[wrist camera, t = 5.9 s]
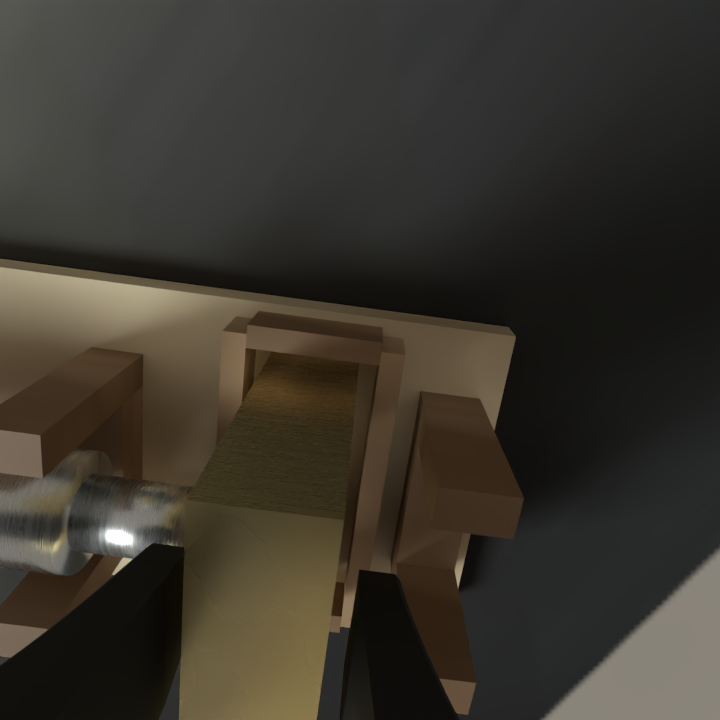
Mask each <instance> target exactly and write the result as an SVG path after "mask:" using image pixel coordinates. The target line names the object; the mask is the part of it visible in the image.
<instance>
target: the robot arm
mask: <svg viewBox="0 0 720 720" xmlns="http://www.w3.org/2000/svg"><path fill="white" fill-rule="evenodd" d="M183 575H184V547H180V546H172V545H164V544H156V543H152V544H151V545H149V546H148V547H147V548H145V549H144V550H143V551H142V552H141V553H139V554H138V555H137V556H136V557H135V558H133V559H132V560H131V561H130V562H129V563H128V564H126V565H125V566H124V567H123V568H122V569H121V570H119V571H118V572H117V573H116V574H115V575H114V576H112V577H111V578H110V579H109V580H108V581H107V582H105V583H104V584H103V585H102V586H101V587H99V588H98V589H97V590H96V591H95V592H94V593H92V594H91V595H90V596H89V597H88V598H86V599H85V600H84V601H83V602H81V603H80V604H79V605H78V606H77V607H75V608H74V609H73V610H72V611H70V612H69V613H68V614H67V615H65V616H64V617H63V618H62V619H60V620H59V621H58V622H57V623H55V624H54V625H53V626H52V627H50V628H49V629H48V630H47V631H45V632H44V633H43V634H42V635H40V636H39V637H38V638H36V639H35V640H34V641H33V642H31V643H30V644H28V645H27V646H26V647H24V648H23V649H22V650H20V651H19V652H18V653H16V654H15V655H14V656H12V657H11V658H10V659H8V660H7V661H6V662H4V663H3V664H1V665H0V720H159V717H160V715H161V713H162V710H163V708H164V706H165V703H166V700H167V697H168V694H169V691H170V688H171V685H172V682H173V679H174V676H175V673H176V670H177V667H178V664H179V660H180V657H181V639H182V607H183ZM340 720H460V719H459V717H458V716H457V714H456V712H455V710H454V708H453V706H452V704H451V702H450V700H449V698H448V696H447V694H446V692H445V690H444V688H443V685H442V683H441V681H440V679H439V677H438V675H437V673H436V671H435V668H434V666H433V664H432V662H431V660H430V658H429V656H428V653H427V651H426V649H425V646H424V644H423V642H422V639H421V637H420V634H419V632H418V630H417V627H416V625H415V622H414V620H413V617H412V614H411V612H410V609H409V606H408V603H407V601H406V598H405V594H404V591H403V588H402V585H401V581H400V580H399V578H398V577H397V576H396V575H395V574H391V573H383V572H375V571H367V570H360V569H359V574H358V580H357V586H356V593H355V599H354V605H353V612H352V618H351V624H350V631H349V637H348V643H347V650H346V656H345V663H344V674H343V685H342V697H341V709H340Z"/></svg>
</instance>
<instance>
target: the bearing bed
mask: <svg viewBox="0 0 720 720" xmlns="http://www.w3.org/2000/svg"><path fill="white" fill-rule="evenodd" d="M515 339H516V336H515V335H514V333H513V332H512V331H511V330H510V329H509V327H504V326H497V325H489V324H482V323H475V322H467V321H460V320H452V319H445V318H437V317H430V316H423V315H415V314H408V313H400V312H393V311H385V310H378V309H371V308H363V307H356V306H348V305H341V304H333V303H326V302H319V301H311V300H304V299H296V298H289V297H281V296H274V295H267V294H259V293H252V292H244V291H237V290H230V289H222V288H215V287H207V286H200V285H192V284H185V283H178V282H170V281H163V280H155V279H148V278H140V277H133V276H126V275H118V274H111V273H103V272H96V271H88V270H81V269H74V268H66V267H59V266H51V265H44V264H36V263H29V262H22V261H14V260H7V259H0V473H5V474H12V475H20V476H28V477H35V478H44V477H45V476H46V475H47V474H48V473H49V472H50V471H51V470H53V469H54V468H55V467H56V466H57V465H58V464H59V463H60V462H61V461H62V460H63V459H64V458H65V457H67V456H68V455H69V454H70V453H71V452H72V451H73V450H74V449H75V448H80V449H87V450H95V451H101V452H104V453H105V454H106V455H107V456H108V457H109V459H110V461H111V464H112V468H113V476H117V477H125V478H133V479H140V480H148V481H156V482H164V483H171V484H179V485H187V486H194V485H195V483H196V482H197V480H198V478H199V477H200V475H201V473H202V471H203V470H204V468H205V466H206V464H207V463H208V461H209V459H210V458H211V456H212V454H213V452H214V451H215V449H216V447H217V445H218V444H219V442H220V440H221V439H222V437H223V435H224V433H225V432H226V430H227V428H228V426H229V425H230V423H231V421H232V420H233V418H234V416H235V414H236V413H237V411H238V409H239V407H240V406H241V404H242V402H243V401H244V399H245V397H246V395H247V394H248V392H249V390H250V389H251V387H252V385H253V383H254V382H255V380H256V378H257V376H258V375H259V373H260V371H261V370H262V368H263V366H264V364H265V363H266V361H267V359H268V357H269V356H270V354H271V352H272V351H273V352H280V353H288V354H295V355H303V356H310V357H318V358H325V359H333V360H340V361H348V362H355V363H359V371H358V382H357V392H356V402H355V413H354V423H353V434H352V444H351V455H350V465H349V476H348V486H347V497H346V507H345V518H344V526H343V533H342V540H341V547H340V554H339V562H338V569H337V576H336V583H335V590H334V598H333V605H332V612H331V619H330V626H329V632H337V633H339V632H340V626H341V627H348V628H350V624H351V618H352V612H353V605H354V599H355V593H356V586H357V580H358V574H359V569H360V570H367V571H375V572H383V573H391V574H395V575H396V576H397V577H398V578H399V580H400V581H401V585H402V588H403V591H404V594H405V598H406V601H407V603H408V606H409V609H410V612H411V614H412V617H413V620H414V622H415V625H416V627H417V630H418V632H419V634H420V637H421V639H422V642H423V644H424V646H425V649H426V651H427V653H428V656H429V658H430V660H431V662H432V664H433V666H434V668H435V671H436V673H437V675H438V677H439V679H440V681H441V683H442V685H443V688H444V690H445V692H446V694H447V696H448V698H449V700H450V702H451V704H452V706H453V708H454V710H455V712H456V713H459V714H466V715H468V712H469V708H470V705H471V701H472V697H473V693H474V689H475V685H476V680H475V675H474V670H473V664H472V659H471V654H470V649H469V643H468V638H467V633H466V628H465V622H464V617H463V612H462V607H461V601H460V596H459V591H458V587H459V582H460V578H461V574H462V569H463V565H464V561H465V556H466V552H467V548H468V543H469V539H470V535H471V534H475V535H483V536H491V537H499V538H506V539H514V536H515V532H516V528H517V524H518V520H519V516H520V513H521V509H522V505H523V501H524V497H523V495H522V492H521V490H520V488H519V486H518V483H517V481H516V479H515V477H514V474H513V472H512V470H511V468H510V465H509V463H508V461H507V459H506V456H505V454H504V452H503V450H502V447H501V445H500V443H499V441H498V438H497V436H496V434H495V432H494V430H495V426H496V422H497V417H498V413H499V409H500V404H501V400H502V396H503V391H504V387H505V383H506V378H507V374H508V370H509V365H510V361H511V356H512V352H513V348H514V343H515ZM131 560H132V559H131V558H123V557H115V556H108V555H100V554H93V555H92V557H91V558H90V560H89V561H88V563H87V564H86V565H85V566H84V567H83V568H82V569H81V570H80V571H79V572H78V573H76V574H74V575H72V576H63V575H55V574H47V573H39V572H31V571H30V572H29V573H28V574H27V575H26V577H25V578H24V579H23V580H22V581H21V582H20V583H19V585H18V586H17V587H16V588H15V589H14V590H13V592H12V593H11V594H10V595H9V596H8V597H7V599H6V600H5V601H4V602H3V603H2V604H1V605H0V656H3V657H12V656H14V655H15V654H16V653H18V652H19V651H20V650H22V649H23V648H24V647H26V646H27V645H28V644H30V643H31V642H33V641H34V640H35V639H36V638H38V637H39V636H40V635H42V634H43V633H44V632H45V631H47V630H48V629H49V628H50V627H52V626H53V625H54V624H55V623H57V622H58V621H59V620H60V619H62V618H63V617H64V616H65V615H67V614H68V613H69V612H70V611H72V610H73V609H74V608H75V607H77V606H78V605H79V604H80V603H81V602H83V601H84V600H85V599H86V598H88V597H89V596H90V595H91V594H92V593H94V592H95V591H96V590H97V589H98V588H99V587H101V586H102V585H103V584H104V583H105V582H107V581H108V580H109V578H110V577H111V575H115V574H116V573H117V572H118V571H119V570H121V569H122V568H123V567H124V566H125V565H126V564H128V563H129V562H130V561H131Z"/></svg>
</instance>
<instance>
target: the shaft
mask: <svg viewBox="0 0 720 720" xmlns="http://www.w3.org/2000/svg"><path fill="white" fill-rule="evenodd" d="M193 487H194V486H187V485H179V484H171V483H164V482H156V481H148V480H140V479H133V478H125V477H117V476H113V468H112V464H111V461H110V459H109V457H108V456H107V455H106V454H105V453H104V452H101V451H95V450H87V449H80V448H75V449H74V450H73V451H72V452H71V453H70V454H69V455H68V456H67V457H65V458H64V459H63V460H62V461H61V462H60V463H59V464H58V465H57V466H56V467H55V468H54V469H53V470H51V471H50V472H49V473H48V474H47V475H46V476H45V477H44V478H35V477H28V476H20V475H12V474H5V473H0V568H8V569H16V570H23V571H31V572H39V573H47V574H55V575H63V576H72V575H74V574H76V573H78V572H79V571H80V570H81V569H82V568H83V567H84V566H85V565H86V564H87V563H88V561H89V560H90V558H91V557H92V555H93V554H100V555H108V556H115V557H123V558H131V559H133V558H135V557H136V556H137V555H138V554H139V553H141V552H142V551H143V550H144V549H145V548H147V547H148V546H149V545H151V544H152V543H156V544H164V545H172V546H180V547H184V543H185V511H186V499H187V497H188V496H189V494H190V492H191V490H192V489H193Z"/></svg>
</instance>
